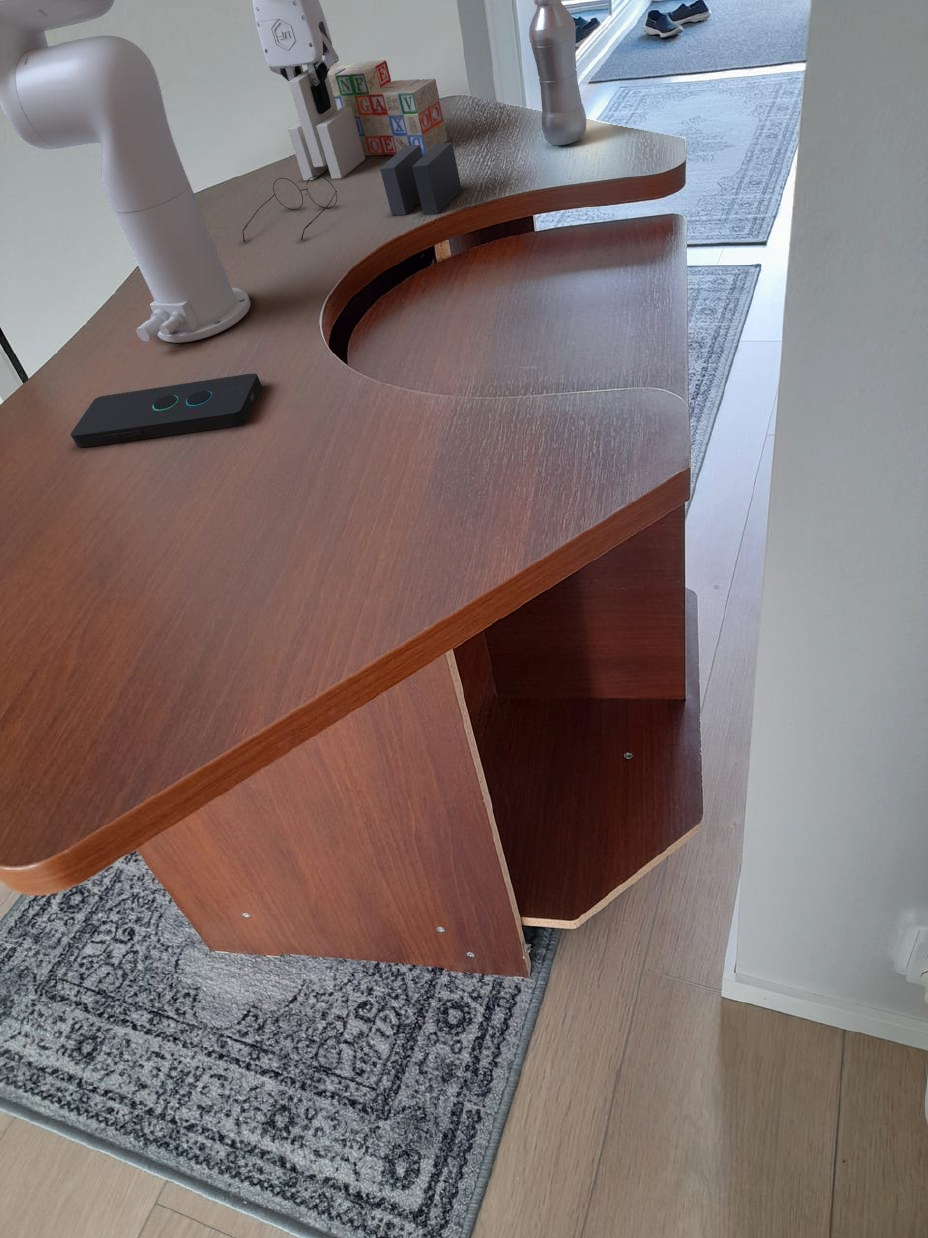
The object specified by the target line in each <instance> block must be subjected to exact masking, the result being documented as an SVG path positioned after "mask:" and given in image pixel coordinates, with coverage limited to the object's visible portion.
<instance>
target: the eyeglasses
mask: <svg viewBox="0 0 928 1238" xmlns="http://www.w3.org/2000/svg"><path fill="white" fill-rule="evenodd" d="M312 177H315V176H312ZM312 177H310V178H312ZM318 177H319V178H322V179H324V180H325V181H327V182H328V183H329V184H330V185H331V186H332V188H333V190H334V194H333V195H332V198H331V200H329V203H328V204H327V205H326V206H325V207H324V206H322V205H320V204H318V203H317V202H315V201H314V200H313V198H312V197H311V195H310V193H309V190H308V188H302V189H300V188H299V186H298V185H297V184H296V183H295V182H294V181H292V180H290V179H289V178H286V177H279V178H277V179H276V180H275V181H274V182H273V185H272V189H273V195H272V196H271V197H270V198H269V199H268V200H266V201H265V202H264V203H263V204H262V205H261V206H260V207H259V208H258V209H257V210H256V212H255V213H254V214H253V215H252V217H251V218H250V219H249V221H248V222H247V223H246V224H245V226H244V228H243V229H242V241H243V242H244V243H246V240H245V239H246V238H245V232H244V231H245V230H246V228H247V227H248V225H249V224H250V222H251V221H252V220H253V218H254V217H255V216H256V215H257V213H258V212H259V210H261V209H262V207H264V205H265V204H267V203H268V202H269V201H270V200H272V198H273V197H274V196H275V199H276V200H277V202H279V203H281V201H280V200H279V199H278V197H277V195H276V192H275V185H276V182H277V181H278V180H282V179H283V180H287V181H290V182H291V183H292V184H294V186H295V187H296V188H297V189H298V190H299V192H300V196H301V198H302V199H301V200H302V202H301V205H300V206H299V207H298V208H295V209H294V208H289V207H287V206H286V205H284V204H283V203H281V205H282V206H283V207H284V208H285V209H288V210H291V211H298V210H299V209H300V208H302V206H303V204H304V197H303V193H302V191H307V193H305V196H309V198H310V199H311V201H312V202H313V204H316V205H317V206H318V207H320V208H322V210H321V211H320V213H319V214H317V215H316V216H315V218H313V219H312V220H311V221H310V222H309V223H308V224H307V225H306V226H305V227H304V228H303V231H302V233H301V238H300V240H301V241H303V239H304V234H305V230H306V229H307V228H308V227H309V226H310V225H312V224H313V222H314V221H315V220H316V219H318V217H319V216H320V215H321V214H322V213H323V212H324V211H325V210H326V209H328V208H329V209H332V208H334V206H336V204H337V202H338V191H337V190H336V188H335V187H334V185H333V184H332V183H331V181H329V179H328V178H325V177H324V176H322V175H319V176H318ZM318 177H317V178H318ZM310 178H309V179H310ZM309 179H308V180H306V184H308V183H309V181H310V180H309ZM335 195H336V200H335V203H334V204H333V206H330V204H331V203H332V201H333V199H334V197H335ZM329 206H330V207H329Z"/></svg>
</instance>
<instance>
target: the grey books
mask: <svg viewBox="0 0 928 1238" xmlns="http://www.w3.org/2000/svg"><path fill="white" fill-rule="evenodd" d="M458 169H459V168H458V164H457V159H456V155H455V150H454V145H453V142H452V141H451V142H445V143H437V144H436V145H435V146H434V147H433V148H432V149H431V150H430V151H428V152H427V153H426V154H425V155H422V152H421V148H420V145H411V146H405V147H404V148H403V149H401V150H400V151H399V152H398V153H397V154H396V155H392V157H391V158H390V159H388V160H387V161H386V162H385V163H384V164H383V165H382V166H380V167H379V171H380V175H381V179H382V183H383V186H384V190H385V195H386V198H387V201H388V202H387V203H388V206H389V209H390V214H391V216H406V215H408V214H409V213H410V211H411V210H413V209H414V207H416V206H417V205H418V204H419V203H420V205H421V210H422V214H423V215H438V214H440V213H441V212H442V210H444V209H445V208H446V206H448V205H449V204H450V203H451V202H452V200H454V198H456V196H457V195H458V194H459V193H461V191H462V190H463V189H462V184H461V179H460V174H459V170H458Z"/></svg>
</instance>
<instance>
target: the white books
mask: <svg viewBox="0 0 928 1238" xmlns="http://www.w3.org/2000/svg"><path fill="white" fill-rule="evenodd" d="M316 127H317V130H318V134H319V137H320V140H321V144H322V147H323V150H324V154H325V157H326V161H327V165H325V166H324V167H314V165H313V162H312V159H311V155H310V152H309V149H308V146H307V142H306V139H305V136H304V133H303V129H302V126H301V123H300V119H299V120H298V121H296V122H295V123H293V124H292V125H291V126H289V127H288V128H287V132H288V135H289V139H290V142H291V144H292V147H293V151H294V155H295V157H296V161H297V163H298V167H299V170H300V173H301V176H302V180H303V181H308V179H309V178H310V177H312V176H315V177H312V178H310V179H309V181H314V180H315V179H317V178H318V176H321V175H322V174H323V173H324V172H326V171H327V170H328V171H329V174H330V178H331V180H336V179H338V180H339V179H343V178H344V177H346V176H347V175H348V174H350V172H352V171H353V170H354V169H355V168H356V167H358V166H359V165H360V164H361V163H362V162H364V161H365V160H366V155H364V152H363V148H362V144H361V140H360V137H359V133H358V129H357V125H356V122H355V118H354V114H353V110H352V107H342V108H340V109H339V110H338V111H336V112H335V113H333V114H332V115H331V116H329V117H328V118H327V119H325V120H324V121H323V122H321V123H320V124H319V125H317V126H316Z"/></svg>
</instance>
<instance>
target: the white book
mask: <svg viewBox="0 0 928 1238" xmlns="http://www.w3.org/2000/svg"><path fill="white" fill-rule="evenodd" d="M316 69H317V68H316ZM303 71H304V72H302V73H301V74H299V75H298V76H296V77H295V78H293V79H292V80H290V81H287V83H288V87H289V90H290V93H291V97H292V99H293V103H294V106H295V109H296V113H297V115H298V119H299V120H300V123H301V126H302V129H303V133H304V136H305V139H306V142H307V146H308V149H309V152H310V155H311V159H312V162H313V165H314V167H324V166H325V165H327V161H326V157H325V154H324V150H323V147H322V144H321V140H320V137H319V134H318V130H317V127H316V126H317V125H319V124H320V123H321V122H323V121H324V120H325V119H327V118H328V117H329V116H331V115H332V114H333V113H335V112H336V111H338V109H337V106H336V102H335V99H334V95H333V91H332V88H331V84H330V80H329V77H328V74H327V79H326V80H325V83H326V87H327V90H328V94H329V97H330V104H331V108H330V109H329V110H327V111H326V112H324V113H323V114H319V113H318V112H317V109H316V105H315V102H314V98H313V95H312V91H311V86H313V83H312V81H311V78H310V74H309V71H308V68H307V69H305V70H303Z"/></svg>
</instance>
